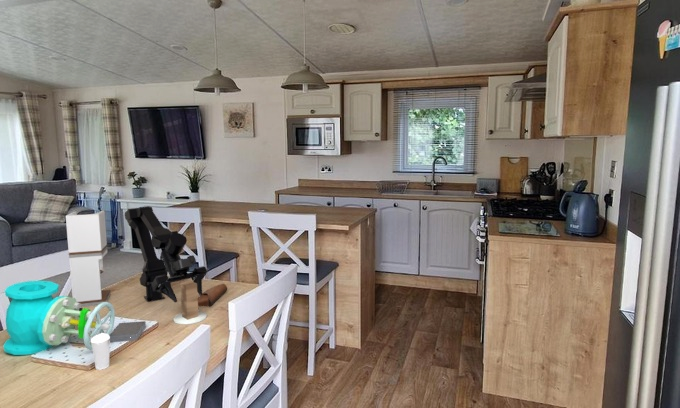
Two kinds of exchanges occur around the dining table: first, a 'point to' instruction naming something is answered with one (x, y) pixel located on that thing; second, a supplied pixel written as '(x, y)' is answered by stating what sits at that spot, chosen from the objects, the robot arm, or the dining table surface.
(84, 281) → the tall white block
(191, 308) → the walnut post
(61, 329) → the valve
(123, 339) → the metal stand
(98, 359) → the milkshake
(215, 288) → the sunglasses case
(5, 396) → the dining table surface
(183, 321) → the ceramic coaster
